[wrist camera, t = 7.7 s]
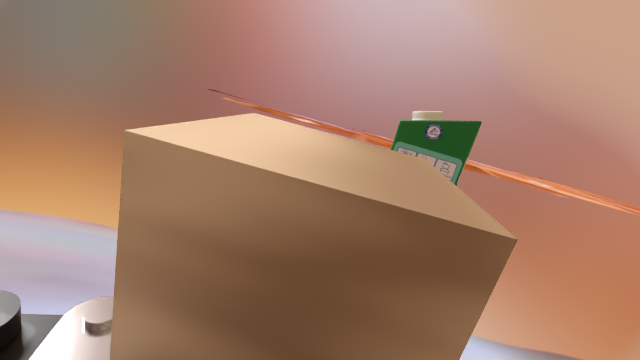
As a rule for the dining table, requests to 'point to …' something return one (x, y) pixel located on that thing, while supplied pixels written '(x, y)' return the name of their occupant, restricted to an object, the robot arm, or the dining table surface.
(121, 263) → the maple block
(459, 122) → the milk carton
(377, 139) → the dining table surface
